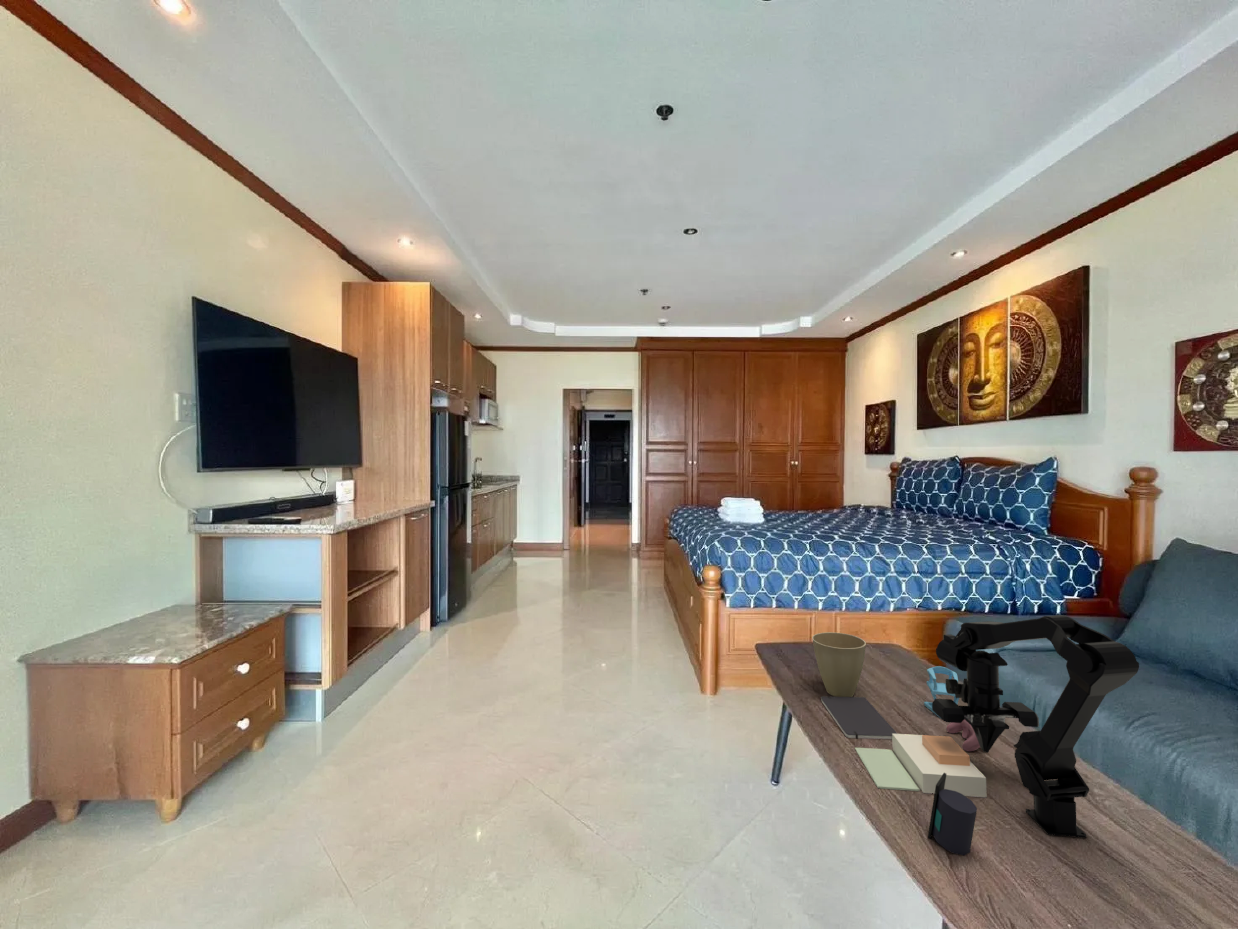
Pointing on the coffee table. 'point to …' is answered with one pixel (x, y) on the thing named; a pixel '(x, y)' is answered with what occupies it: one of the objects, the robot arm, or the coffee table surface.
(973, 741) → the video game controller
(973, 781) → the cream flat block
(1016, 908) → the coffee table surface
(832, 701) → the notebook
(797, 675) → the coffee table surface
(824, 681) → the plant pot
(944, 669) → the chair
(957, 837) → the speaker
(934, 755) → the tile
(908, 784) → the mat
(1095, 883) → the coffee table surface
